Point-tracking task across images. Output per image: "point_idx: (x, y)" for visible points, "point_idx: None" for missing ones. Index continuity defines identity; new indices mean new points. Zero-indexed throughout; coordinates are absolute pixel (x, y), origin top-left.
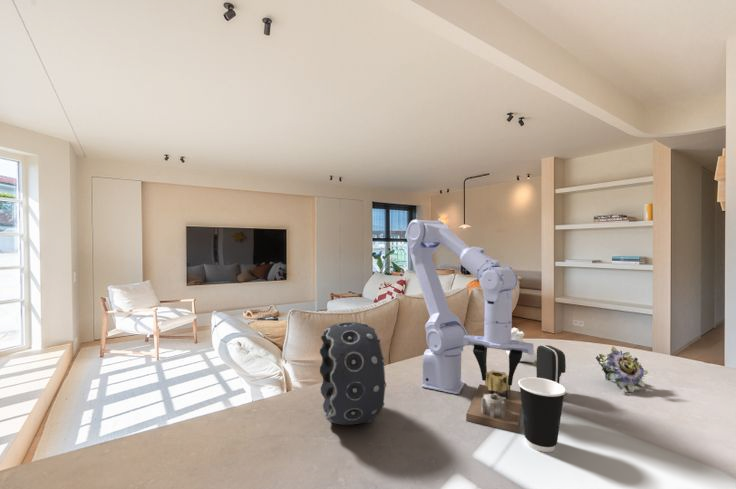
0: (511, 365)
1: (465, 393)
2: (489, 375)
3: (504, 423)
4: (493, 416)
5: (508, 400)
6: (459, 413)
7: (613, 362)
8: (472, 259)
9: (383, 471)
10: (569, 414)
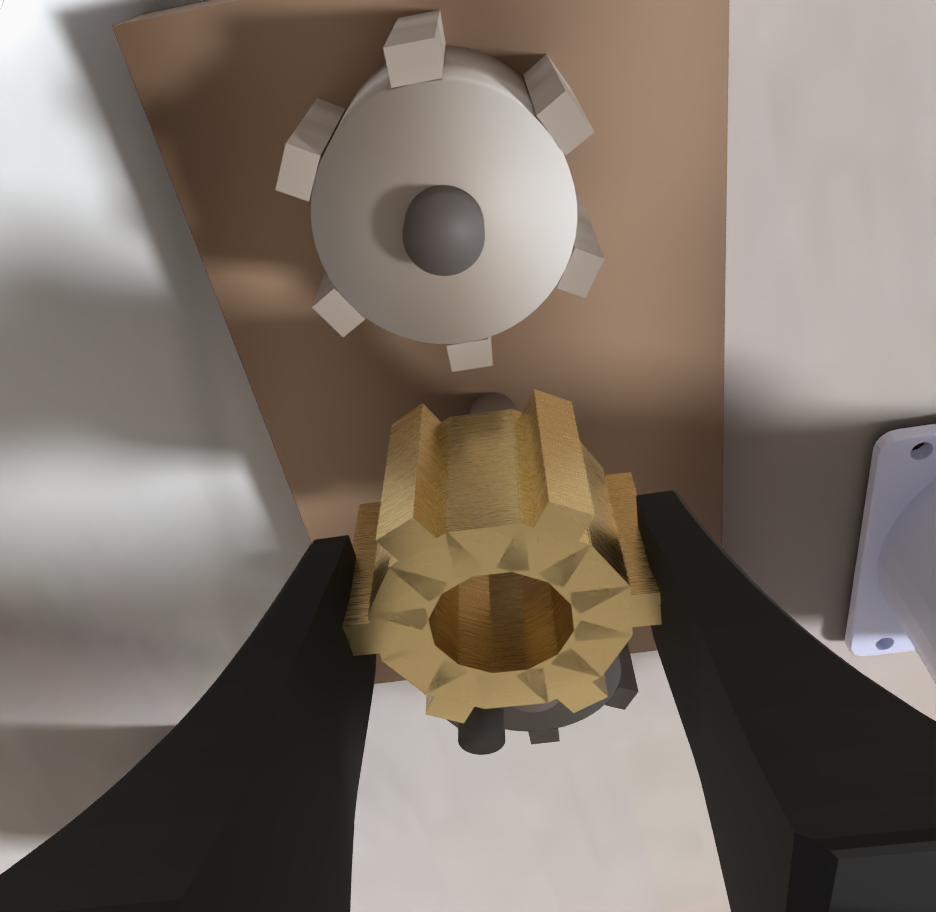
0: (221, 752)
1: (813, 493)
2: (586, 542)
3: None
4: (399, 18)
5: None
6: (811, 42)
7: None
8: None
9: None
10: (18, 597)
